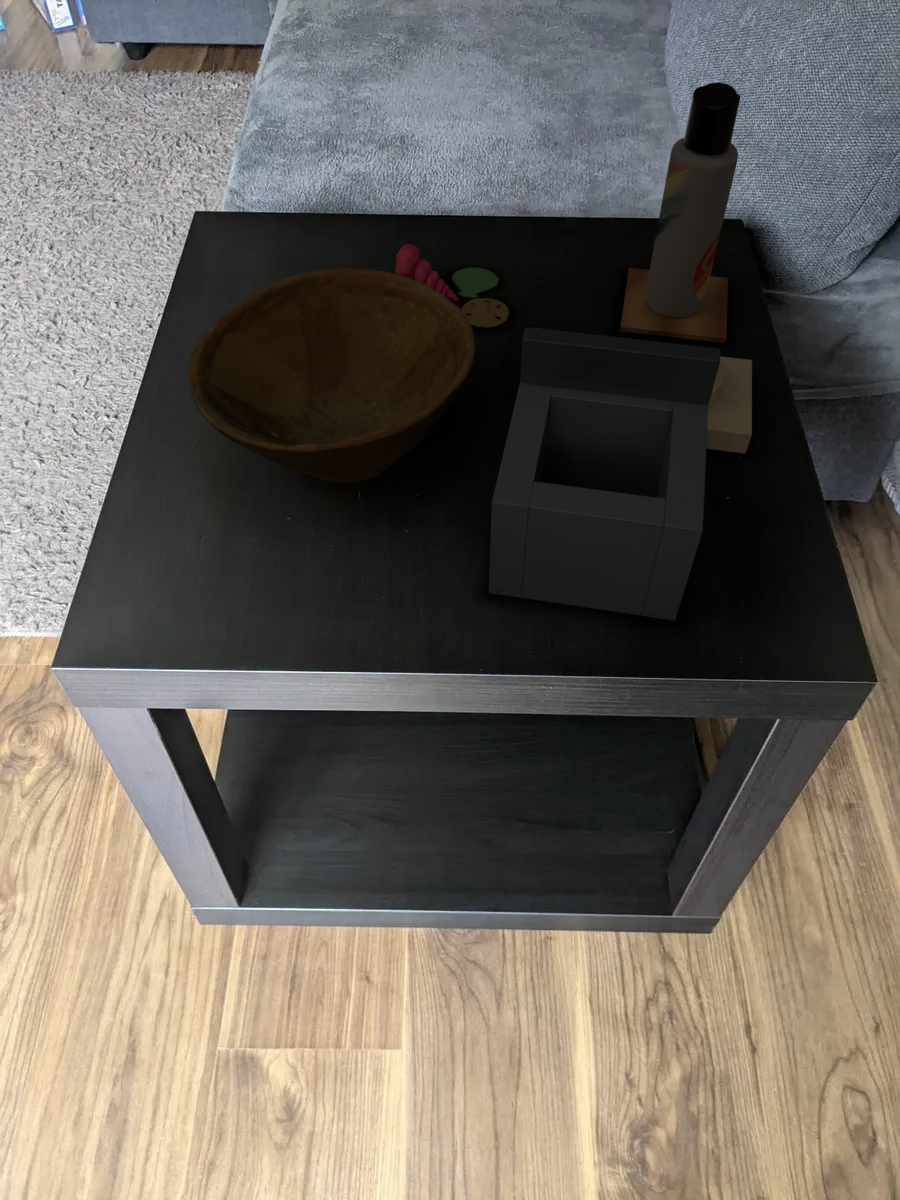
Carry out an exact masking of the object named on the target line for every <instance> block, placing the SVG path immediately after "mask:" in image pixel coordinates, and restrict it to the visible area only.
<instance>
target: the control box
mask: <svg viewBox="0 0 900 1200" xmlns="http://www.w3.org/2000/svg"><path fill="white" fill-rule="evenodd" d="M752 434H753V360H752V359H746V358H739V357H738V358H736V357H728V356H721V355H720V364H719V368H718V372H717V376H716V379H715V383H714V387H713V390H712V394H711V398H710V401H709V404H708V425H707V448H706V450H713V451H722V452H729V453H739V454H746V453H747V450H748V447H749V445H750V442H751V438H752Z"/></svg>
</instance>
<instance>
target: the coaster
mask: <svg viewBox="0 0 900 1200" xmlns="http://www.w3.org/2000/svg"><path fill="white" fill-rule="evenodd" d="M649 272H650V269H645V268H644V269H643V268H635V267H628V271H627V279H626V285H625V293H624V300H623V307H622V314H621V319H620V320H621V321H620V327H619V332H622V333H631V334H638V335H639V334H640V335H648V336H649V335H650V336H659V337H665V338H676V339H685V340H695V341H704V342H711V343H722V344H725V343H726V341H727V335H728V334H727V333H728V330H727V329H728V299H729V298H728V295H729V277H723V276H713V275H710V278H709V283H708V287H707V291H706V295H705V299H704V302H703V305H702V307H701V309H700V310H699V311H698V312H697V313H695V314H693V315H691V316H688V317H683V318H672V317H666V316H663V315H660V314H658V313H656V312H654V311H653V310H652V309H651V308H650V307H649V306H648V304H647V302H646V290H647V283H648V277H649Z"/></svg>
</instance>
